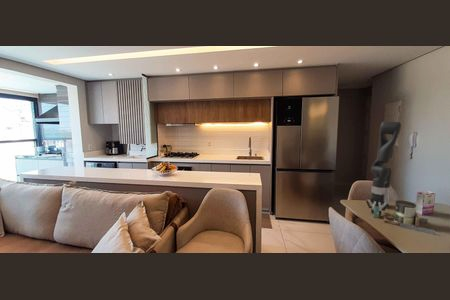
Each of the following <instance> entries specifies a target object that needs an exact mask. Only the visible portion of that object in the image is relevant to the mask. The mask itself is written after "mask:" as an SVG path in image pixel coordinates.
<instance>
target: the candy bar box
mask: <svg viewBox="0 0 450 300" xmlns="http://www.w3.org/2000/svg"><path fill="white" fill-rule="evenodd" d="M435 201H436V192H432V191H429V190H428V191H418V192H417V193H416V200H415V205H416V208H415V212H416V214H417V215H422V216H424V215H426V216H427V215H432V214H434V208H435Z"/></svg>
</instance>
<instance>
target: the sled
mask: <svg viewBox="0 0 450 300" xmlns="http://www.w3.org/2000/svg"><path fill="white" fill-rule="evenodd" d="M394 214H395V213H391V212H387V211H382V214H381V215H380V216H379V206H374V214H372V215H373V218H377V219H379V218H381V219H383V221H384V223H386V224H387V223H388V224H392V225H397V226H400V222H395V221H394V220H389V219H387V216H390V217H394ZM419 217H420V216H419V215H418V213H416V212H415V216H414V225H412V226H417V227H420V222H421V221H420V219H419ZM403 224H405V223H403ZM408 225H409V224H408Z"/></svg>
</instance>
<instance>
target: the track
mask: <svg viewBox="0 0 450 300" xmlns="http://www.w3.org/2000/svg"><path fill="white" fill-rule="evenodd" d="M418 217H419V219H420V221H419V222H421V223H428V222H429V221H428V220H429V219H428V218H424V217H420V216H418ZM399 227H400V228H404V229H408V230H413V231H417V232H422V233H426V234H430V235H435V234H436V230H434V229H432V228H431V229H430V228H426V227H421V226H419V227H417V226H412V225H408V224H403V223H400V225H399Z"/></svg>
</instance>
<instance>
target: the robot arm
mask: <svg viewBox="0 0 450 300" xmlns="http://www.w3.org/2000/svg"><path fill="white" fill-rule="evenodd" d="M401 129H402V123H401V122H400V121H388V120H383V121H382V122H381V124H380V126H379V137H378V138H379V139H378V146H377V152H376V159H375V161H374V162H373V163H372V165H371V167H370V172H371V174H373V176H374V177H373V179H372V184H371V190H370V191H371V192H370V199H365V202H366V204H367V207H368V208H369V209H370V210H371V211H370V213H371V214H372V215H373V214H374V206H379V216H380V215H382V212H386V209H387V208H388V207H389V197H390V187H391V180H392V174H393V173H392V168H391V167H387V166H384V164H388V163H389V161H390V159H391V158H392V157H393V155H394V154H393V153H394V146H395V144H396V142H397V140H398V137H399V136H400V132H401ZM387 135H391V138H390V139H389V138H388V136H387ZM388 139H389V140H388ZM370 203H371V204H370Z"/></svg>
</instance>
